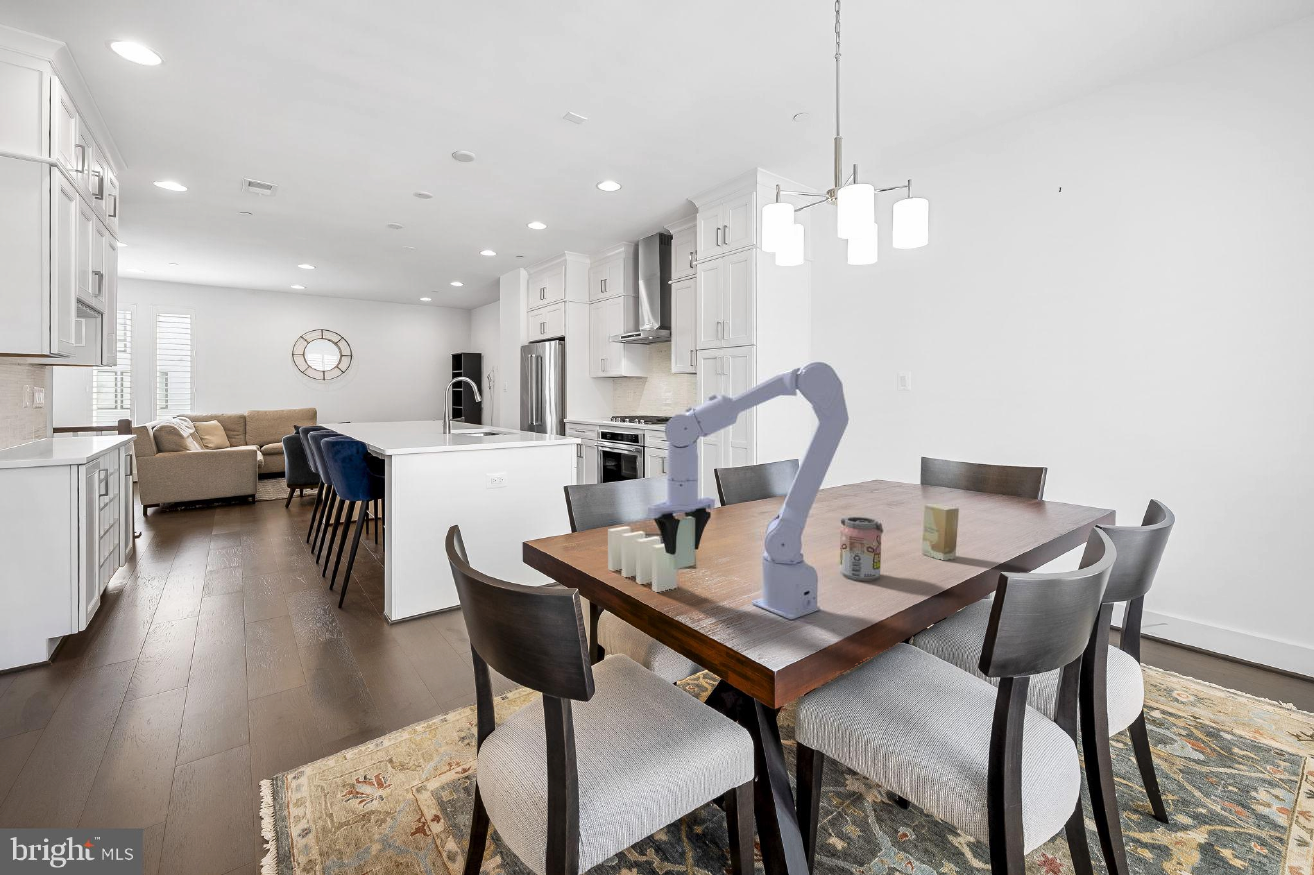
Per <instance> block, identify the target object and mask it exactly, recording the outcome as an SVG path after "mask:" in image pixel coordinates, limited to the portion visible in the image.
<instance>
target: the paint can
mask: <svg viewBox="0 0 1314 875" xmlns="http://www.w3.org/2000/svg"><path fill="white" fill-rule="evenodd" d="M840 523H841V525H843V526H842V527H841V530H840V542H839V543H840V544H839V547H840V548H839V571H840V573H841V575H842V576H843V577H844V578H846V579H849V580H851V581H852V580H853V581H859V582H873V581H876V580H877V579H878V578H879V577H880V576H881V565H882V564H881V563H882V562H881V559H882V534H883V533H884V528H883V523H882V522H879V521H878V520H876V519H875V518H871V517H864V516H849V517H848V516H847V517H846V518H841V520H840Z"/></svg>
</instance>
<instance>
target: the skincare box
mask: <svg viewBox="0 0 1314 875" xmlns="http://www.w3.org/2000/svg"><path fill="white" fill-rule="evenodd" d="M923 512H924V514H923V527H922V542H921V543H922V544H921V554H922V555H925V556H928V557H930V558H933V557H934V558H933V559H937V560H939V559H941V560H940V561H942V560H945V561H949V560H948V559H951V560H955V559H956V557H957V556H956V553H957V543H958V542H957V541H958V540H957V539H958V526H959V512H960V509H959V507H954V506H950V505H946V504H941V503H929V504H924V511H923ZM954 558H955V559H954Z"/></svg>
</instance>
